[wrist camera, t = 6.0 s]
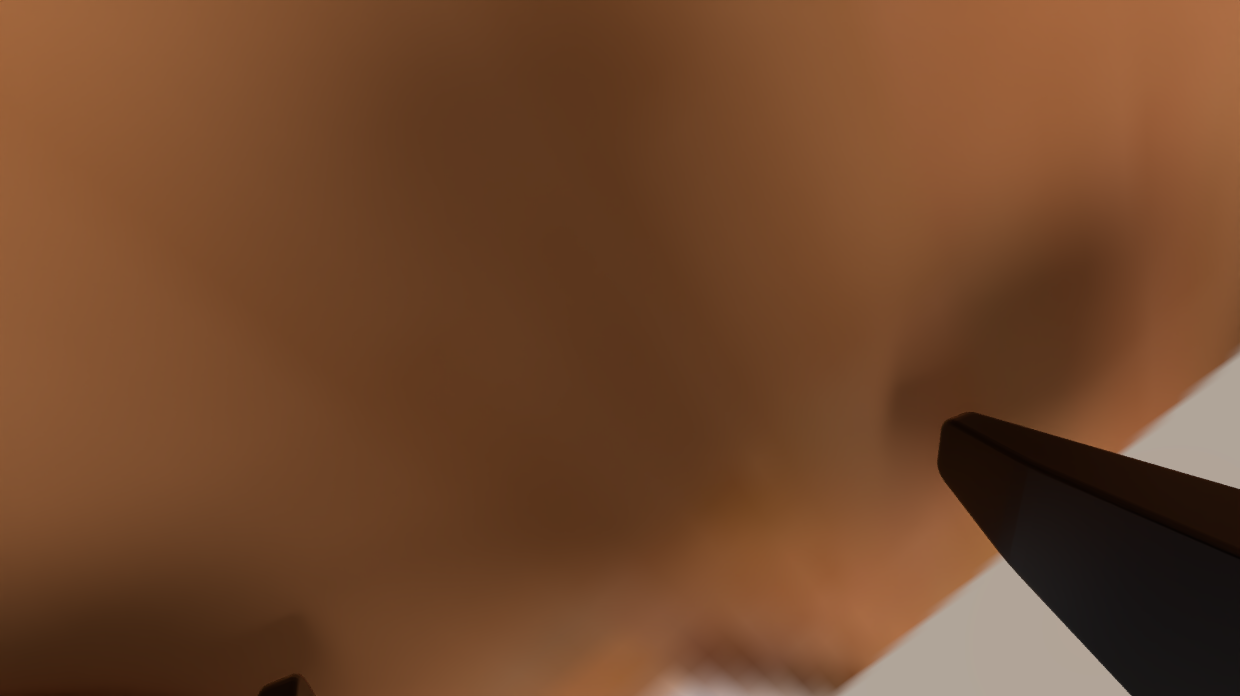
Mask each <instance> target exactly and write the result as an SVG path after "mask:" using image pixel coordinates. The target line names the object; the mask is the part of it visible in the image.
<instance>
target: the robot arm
mask: <svg viewBox="0 0 1240 696" xmlns="http://www.w3.org/2000/svg"><path fill="white" fill-rule="evenodd" d="M937 466H938V470H939V473H940V475H941V477H942V478H943V480H944V481H945V483H946V484H947V485H948V487H949V488H950V489H951V491H952V492H953V493H954V494H955V496H956V497H957V498H958V500H959V501H960V502H961V504H962V505H963V506H964V507H965V509H966V510H967V511H968V513H969V514H970V515H971V517H972V518H973V519H974V520H975V522H976V523H977V524H978V526H979V527H980V528H981V530H982V531H983V532H984V533H985V535H986V536H987V537H988V539H989V540H990V541H991V543H992V544H993V545H994V546H995V548H996V549H997V550H998V552H999V553H1000V554H1001V555H1002V556H1003V558H1004V559H1005V560H1006V561H1007V563H1008V564H1009V565H1010V566H1011V567H1012V568H1013V569H1014V570H1015V571H1016V573H1017V574H1018V575H1019V576H1020V577H1021V578H1022V579H1023V580H1024V581H1025V582H1026V584H1028V586H1029V587H1030V588H1031V589H1032V590H1033V591H1034V592H1035V593H1036V594H1037V595H1038V596H1039V597H1040V599H1041V600H1042V601H1043V602H1044V603H1045V604H1046V605H1047V606H1048V607H1049V608H1050V609H1051V610H1052V611H1053V612H1054V613H1055V614H1056V616H1057V617H1058V618H1059V619H1060V620H1061V621H1062V622H1063V623H1064V624H1065V625H1066V626H1067V627H1068V628H1069V629H1070V631H1071V632H1072V633H1073V634H1074V635H1075V636H1076V637H1077V638H1078V639H1079V640H1080V641H1081V642H1082V643H1083V644H1084V645H1085V647H1086V648H1087V649H1088V650H1089V651H1090V652H1091V653H1092V654H1093V655H1094V656H1095V657H1096V658H1097V659H1098V661H1099V662H1100V663H1101V664H1103V666H1104V667H1105V668H1106V669H1107V670H1108V671H1109V672H1110V673H1111V674H1112V676H1113V677H1114V678H1115V679H1116V680H1117V681H1118V682H1119V683H1120V684H1121V685H1122V686H1123V687H1124V688H1125V689H1126V690H1127V692H1128V693H1129V694H1130V695H1131V696H1240V489H1237V488H1234V487H1230V486H1227V485H1223V484H1220V483H1217V482H1213V481H1209V480H1206V479H1203V478H1199V477H1196V476H1192V475H1189V474H1185V473H1182V472H1179V471H1175V470H1172V469H1168V468H1164V467H1161V466H1158V465H1154V464H1151V463H1147V462H1144V461H1141V460H1137V459H1134V458H1130V457H1127V456H1123V455H1120V454H1116V453H1113V452H1110V451H1106V450H1103V449H1099V448H1096V447H1092V446H1089V445H1085V444H1082V443H1078V442H1075V441H1072V440H1068V439H1065V438H1061V437H1058V436H1054V435H1051V434H1047V433H1044V432H1040V431H1037V430H1034V429H1030V428H1027V427H1023V426H1020V425H1016V424H1013V423H1009V422H1006V421H1002V420H999V419H996V418H992V417H989V416H985V415H982V414H978V413H974V412H966V413H963V414H960V415H958V416H955V417H952V418H950V419H948V420H946V421H945V422H944V423H943V425H942V427H941V434H940V442H939V450H938V458H937ZM258 696H316V695H315V694H314V692H313V690H312V689H311V687H310V686H309V684H308V682H307V681H306V679H305V678H304V677H303V676H302V675H300V674H292V675H290V676H287V677H285V678H282V679H279V680H277V681H274V682H272V683H269V684H267V685H266V686H264V687H263V688H262V689H261V691H260V692H259V694H258Z"/></svg>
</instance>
